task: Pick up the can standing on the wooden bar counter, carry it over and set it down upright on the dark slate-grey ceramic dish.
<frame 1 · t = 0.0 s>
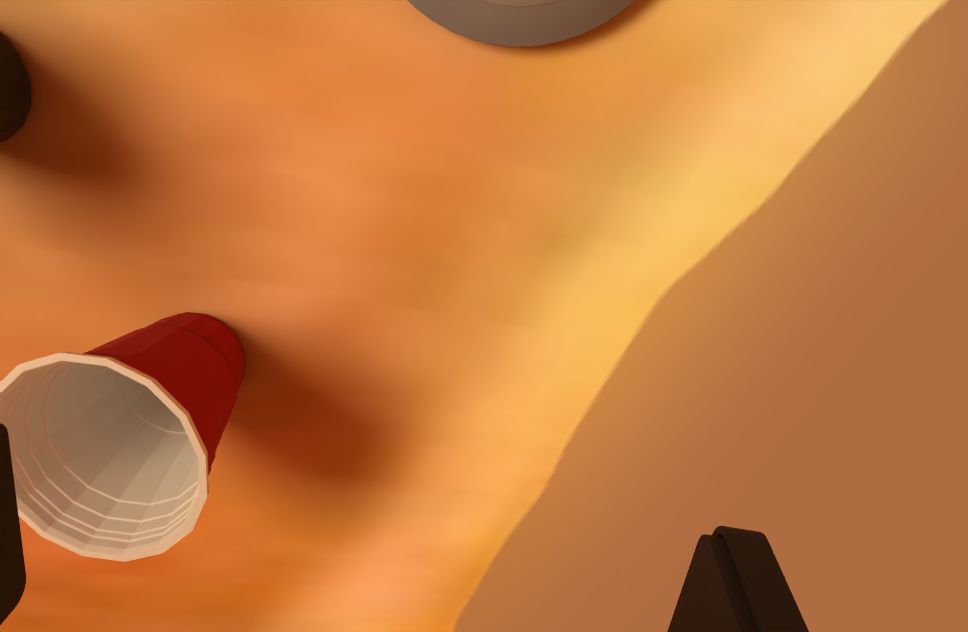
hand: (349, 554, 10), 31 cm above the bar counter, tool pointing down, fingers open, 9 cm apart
plastic cup: (198, 350, 45), on the bar counter
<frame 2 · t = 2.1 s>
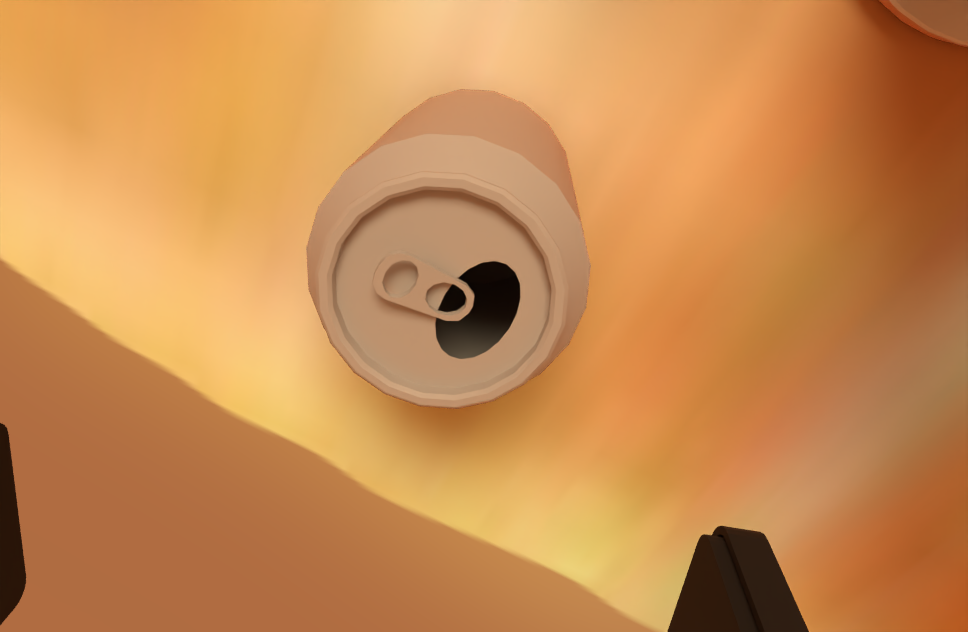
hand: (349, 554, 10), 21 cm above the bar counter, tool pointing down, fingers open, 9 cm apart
can: (475, 184, 29), on the bar counter
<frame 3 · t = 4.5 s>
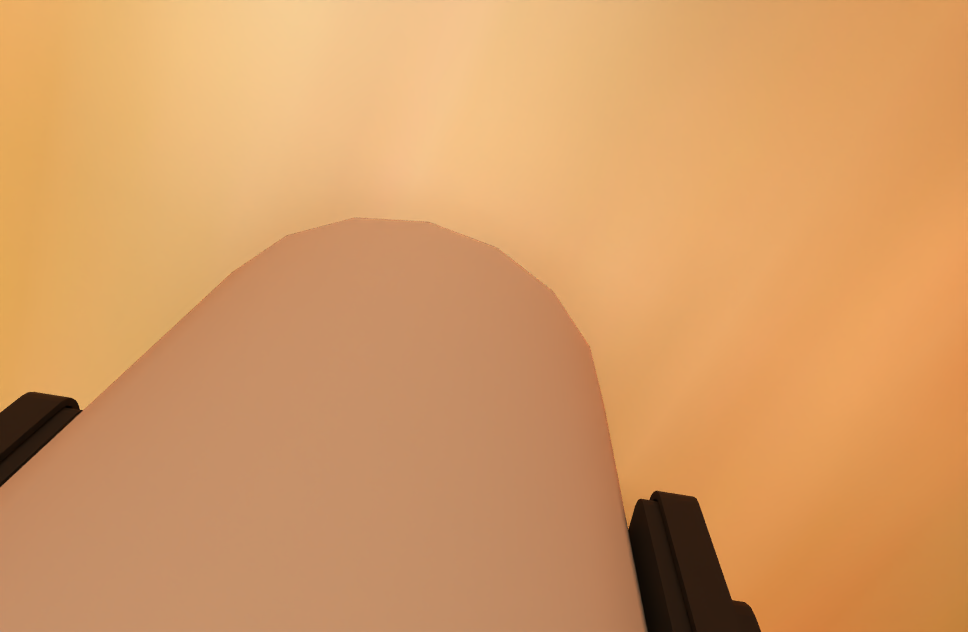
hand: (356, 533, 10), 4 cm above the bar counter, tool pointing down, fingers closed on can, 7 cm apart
can: (401, 391, 14), on the bar counter, touching gripper
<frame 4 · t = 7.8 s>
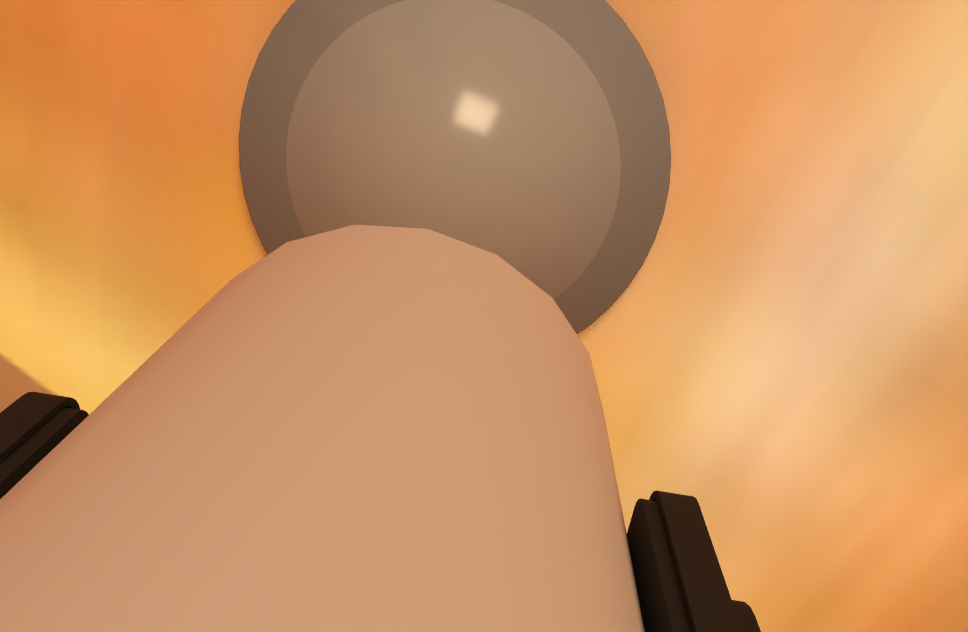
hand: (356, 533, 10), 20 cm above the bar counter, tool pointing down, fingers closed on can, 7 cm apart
can: (401, 396, 14), point 16 cm above the bar counter, touching gripper
dish: (454, 169, 28), on the bar counter
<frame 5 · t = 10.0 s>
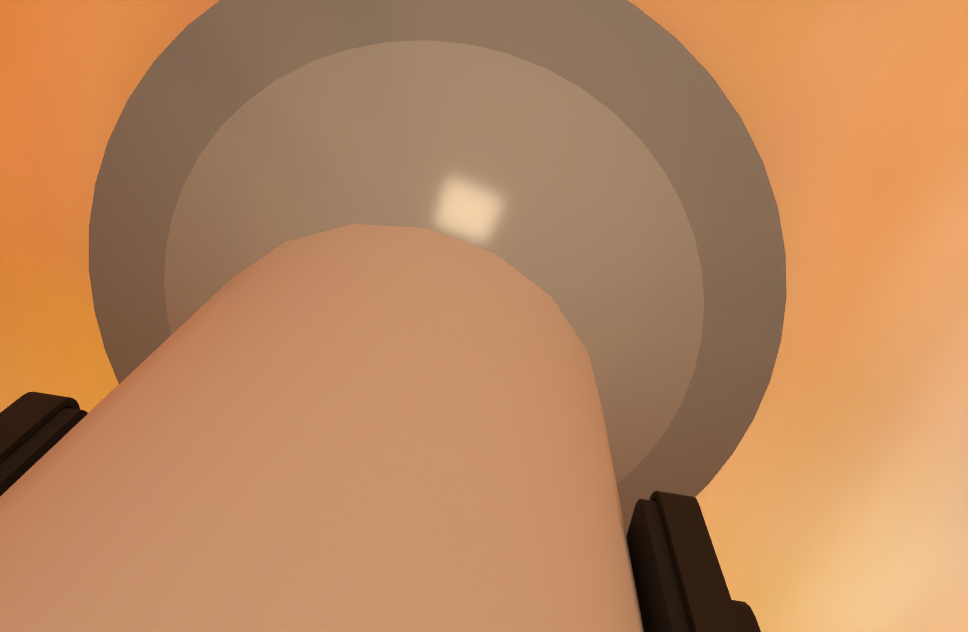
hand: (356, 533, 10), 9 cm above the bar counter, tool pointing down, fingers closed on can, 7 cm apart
can: (401, 395, 14), point 4 cm above the bar counter, touching gripper
dish: (436, 305, 18), on the bar counter
when the fingers open (6 cm above the bar counter, at t = 11.5 s): can drops 1 cm, resting on dish.
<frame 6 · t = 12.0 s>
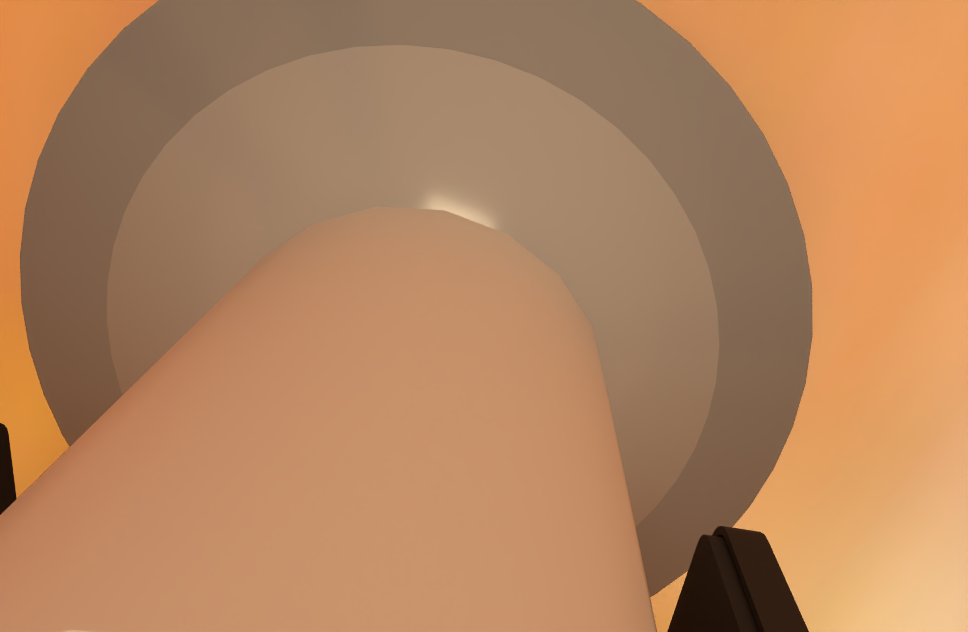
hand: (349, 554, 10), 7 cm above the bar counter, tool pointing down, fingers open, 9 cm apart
can: (417, 369, 15), point 1 cm above the bar counter, touching dish
dish: (417, 341, 16), on the bar counter
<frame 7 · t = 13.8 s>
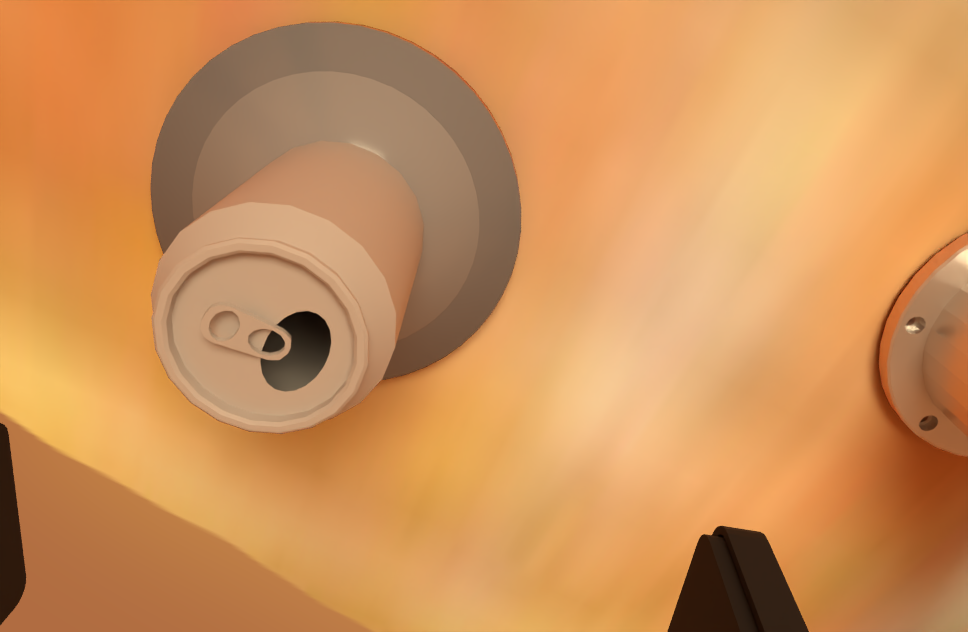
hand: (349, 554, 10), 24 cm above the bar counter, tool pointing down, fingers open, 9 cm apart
can: (340, 222, 32), point 1 cm above the bar counter, touching dish
dish: (342, 213, 33), on the bar counter
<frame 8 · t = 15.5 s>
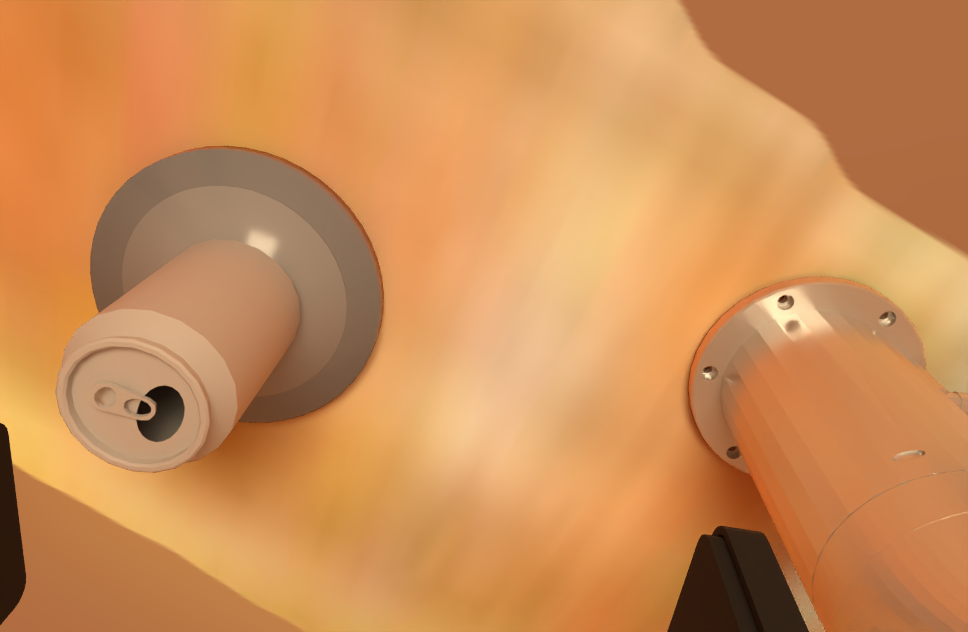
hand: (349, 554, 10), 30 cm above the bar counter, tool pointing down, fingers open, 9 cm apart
can: (238, 298, 41), point 1 cm above the bar counter, touching dish
dish: (242, 289, 42), on the bar counter
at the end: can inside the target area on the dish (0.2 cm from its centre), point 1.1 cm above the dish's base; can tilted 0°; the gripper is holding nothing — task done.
